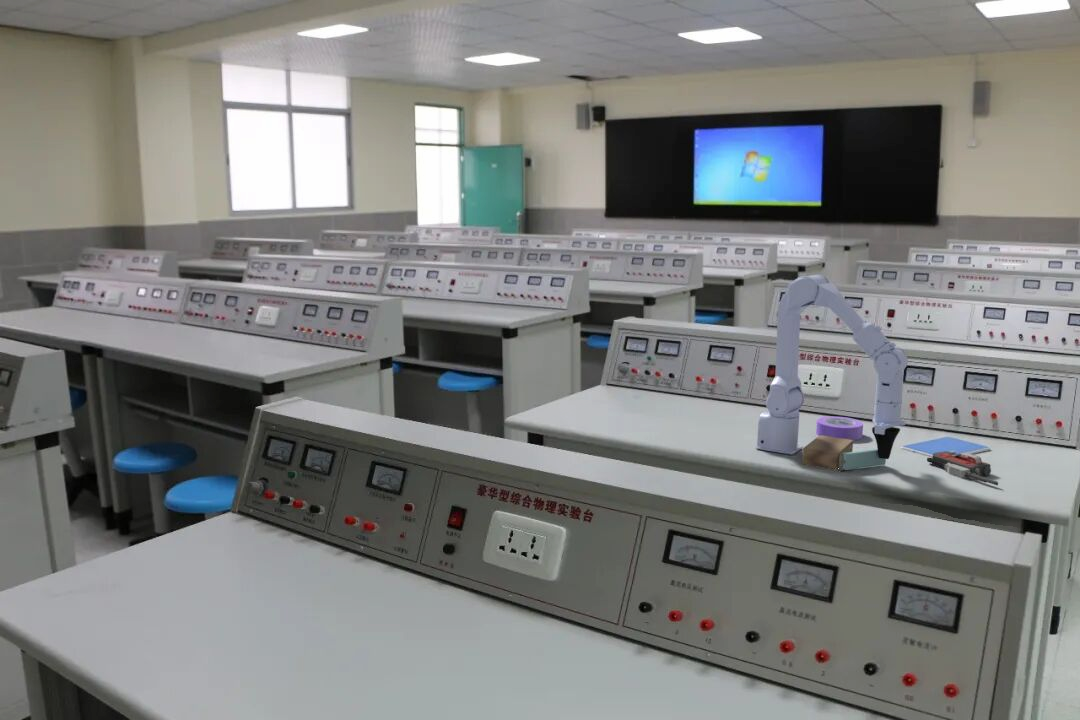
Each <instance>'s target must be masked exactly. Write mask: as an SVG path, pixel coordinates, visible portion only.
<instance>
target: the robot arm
mask: <svg viewBox="0 0 1080 720" xmlns="http://www.w3.org/2000/svg"><path fill="white" fill-rule="evenodd" d="M812 304H813V305H814V306H818V307H824V308H828V309H829V310H831V311H832V313H834V315H836V316H837V317H838V318H839V319H840V320H841V321H842V322H843V323H844V324H845V326H846V327H848V328H849V329H850V331H852V333H853V334H852V335H853V336H852V339H853V341H854V342H855V343H856V344H857V346H858V347H859V348H860V349H861V350H862V351H863V352H864V353H865V354H866V355H867V356H868V358H870V360H872V361H873V367H874V369H875V371H876V372H877V373H876V374H877V375H876V383H875V396H874V410H873V417H872V423H873V425H874V426H873V427H871V431H872V432H871V433H872V434H873V436H874V438H875V442H876V446H877V448H876V449H878V456H879V458H883V459H886V460H889V459H890V457H891V453H892V449H893V447H894V443H895V440H896V438H897V437H898V434H899V433H900V431H901V428H899V427H898V426H905V425H906V420H901V416H902V415H901V413H902V402H903V391H904V390H903V389H904V374H905V373H904V372H905V371H904V370H905V369H906V367H908V362H909V358H908V356H907V354H906V352H905V350H904V349H903V348H901V347H897V344H896V343H895V342H892V341H890V340H889V339H888V337H886V335H885V334H884V333H883V332H882V330H883V328H882V327H881V326H880V325H875V324H874V323H873V322H866V321H864V320H863V318H862V317H861V316H860V315H859V313H858V312H857V311H856V310H855V308H853V306H852V305H851V304H850V302H848V300H847V299H846V298H845V297H844V296H843V294H841V292H840V291H839V289H838V287H836V285H835V284H833V283H832V282H830V280H829V279H828V277H826V276H825V275H823V274H819V273H817V274H812V275H808V276H806V275H803V276H799V277H797V278H796V279H794V280H793V281H791V282H789V284H788V285H787V289H786V291H785V293H784V294H783V296H782V298H781V299H780V301H779V303H778V305H777V326H776V327H777V328H776V347H775V349H776V352H775V373H774V375H775V376H774V378H773V380H772V382H771V383H770V386H769V391H768V395H767V396H766V399H765V406H766V408H767V411H768V412H767V411H763V412H761V414H760V416H759V418H758V425H757V442H756V443H757V445H756V447H755V449H756V450H762V451H767V452H772V453H773V452H775V453H779V454H784V455H785V454H786V455H791V456H792V455H795V454H796V453H797V452H799V451H800V450H801V449H803V448H804V447H803V445H799V444H798V441H799V428H800V427H799V425H800V408H802V407H803V405H804V402H805V395H804V392H803V390H802V381H801V379H800V378H799V355H800V354H799V353H800V331H801V330H800V329H801V328H800V327H801V313H802V312H803V311H805V310H806V309H807V308H808V307H810V306H811V305H812Z"/></svg>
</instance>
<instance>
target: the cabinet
mask: <svg viewBox="0 0 1080 720" xmlns="http://www.w3.org/2000/svg"><path fill="white" fill-rule="evenodd" d="M853 447H854V440H849V439H842V438H836V437H829V436H822V435H820V436H819V435H817V437H816V438H814V439H813V440H811V441H810V442H809V443H808V444H807V445H805V446H804V447H803V448H802V449H803V450H802V462H801V463H802V465H805V466H810V467H815V468H822V467H823V469H828V468H829V469H828V470H834V469H836V470H837V471H836V470H835V471H836V472H839V471H842V472H843V469H842V465H843V453H848V452H853V450H854V449H853ZM838 468H839V469H838Z"/></svg>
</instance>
